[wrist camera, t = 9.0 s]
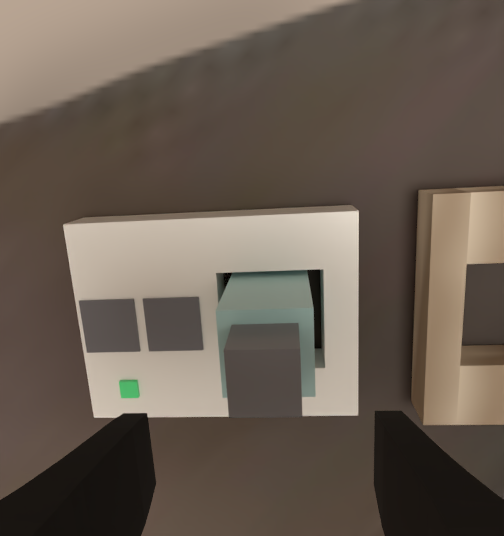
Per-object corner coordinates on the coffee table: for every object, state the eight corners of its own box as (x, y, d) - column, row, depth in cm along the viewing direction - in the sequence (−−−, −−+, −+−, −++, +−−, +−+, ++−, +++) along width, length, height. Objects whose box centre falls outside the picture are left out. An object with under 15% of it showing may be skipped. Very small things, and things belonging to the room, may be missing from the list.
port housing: (351, 204, 20) (359, 211, 18) (351, 391, 22) (358, 418, 20) (83, 217, 21) (60, 225, 19) (110, 395, 23) (92, 420, 21)
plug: (305, 263, 20) (317, 332, 13) (307, 329, 21) (320, 432, 14) (235, 265, 21) (205, 334, 13) (239, 331, 22) (213, 432, 14)
